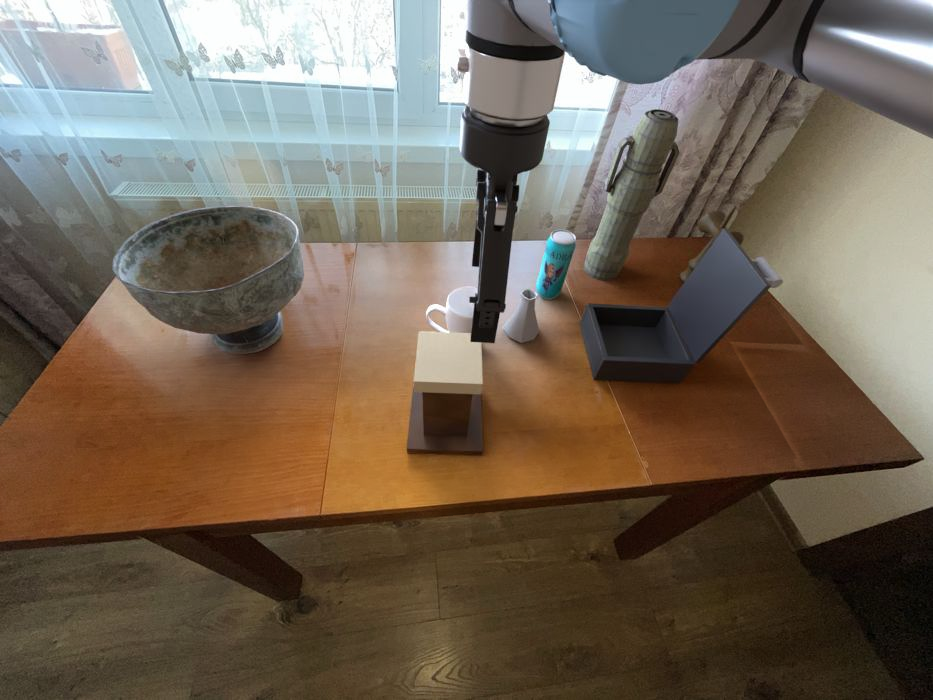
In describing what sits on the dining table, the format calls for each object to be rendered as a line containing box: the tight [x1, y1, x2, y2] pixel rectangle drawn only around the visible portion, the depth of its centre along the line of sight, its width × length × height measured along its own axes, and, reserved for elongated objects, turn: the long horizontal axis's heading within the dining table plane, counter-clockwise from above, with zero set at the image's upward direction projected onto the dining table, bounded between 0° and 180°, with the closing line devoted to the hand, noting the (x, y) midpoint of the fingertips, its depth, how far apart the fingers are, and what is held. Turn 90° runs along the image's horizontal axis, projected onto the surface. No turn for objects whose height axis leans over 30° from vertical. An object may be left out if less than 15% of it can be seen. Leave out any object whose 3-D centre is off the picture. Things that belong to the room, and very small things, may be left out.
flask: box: [502, 287, 540, 344], centre depth 80 cm, size 7×7×10 cm
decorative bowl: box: [111, 205, 305, 355], centre depth 72 cm, size 26×26×20 cm
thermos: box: [583, 108, 680, 281], centre depth 86 cm, size 9×12×35 cm
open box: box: [578, 302, 697, 384], centre depth 79 cm, size 17×15×6 cm
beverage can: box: [535, 229, 577, 301], centre depth 86 cm, size 6×6×15 cm
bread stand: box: [406, 386, 484, 456], centre depth 62 cm, size 12×12×15 cm
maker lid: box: [667, 228, 784, 364], centre depth 70 cm, size 18×15×7 cm
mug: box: [425, 286, 478, 333], centre depth 75 cm, size 12×8×11 cm
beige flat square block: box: [413, 330, 484, 395], centre depth 56 cm, size 9×9×2 cm
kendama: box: [679, 205, 744, 284], centre depth 91 cm, size 6×10×20 cm, turn 0°
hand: (482, 299), depth 49 cm, fingers open, 13 cm apart
